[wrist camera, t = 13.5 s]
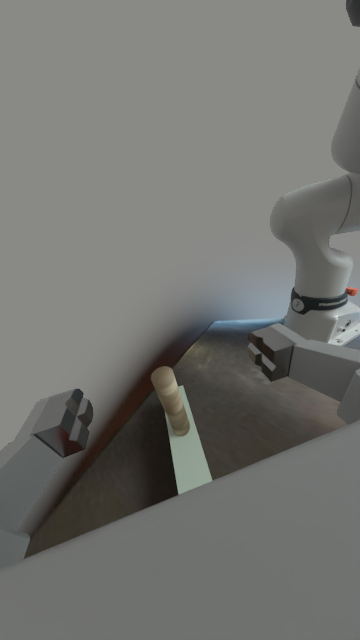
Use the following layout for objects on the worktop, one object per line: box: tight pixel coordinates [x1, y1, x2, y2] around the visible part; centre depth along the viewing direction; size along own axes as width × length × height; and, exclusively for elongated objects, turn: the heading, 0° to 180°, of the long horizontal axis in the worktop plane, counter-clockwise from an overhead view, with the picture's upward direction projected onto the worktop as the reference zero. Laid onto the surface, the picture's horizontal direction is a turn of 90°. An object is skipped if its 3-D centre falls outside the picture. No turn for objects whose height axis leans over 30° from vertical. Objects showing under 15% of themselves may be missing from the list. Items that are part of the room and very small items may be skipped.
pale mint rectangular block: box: [165, 385, 212, 494], centre depth 32 cm, size 5×18×6 cm, turn 13°
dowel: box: [151, 366, 190, 436], centre depth 27 cm, size 3×3×14 cm
